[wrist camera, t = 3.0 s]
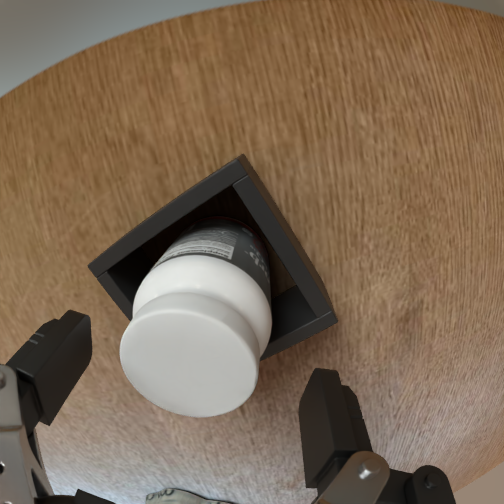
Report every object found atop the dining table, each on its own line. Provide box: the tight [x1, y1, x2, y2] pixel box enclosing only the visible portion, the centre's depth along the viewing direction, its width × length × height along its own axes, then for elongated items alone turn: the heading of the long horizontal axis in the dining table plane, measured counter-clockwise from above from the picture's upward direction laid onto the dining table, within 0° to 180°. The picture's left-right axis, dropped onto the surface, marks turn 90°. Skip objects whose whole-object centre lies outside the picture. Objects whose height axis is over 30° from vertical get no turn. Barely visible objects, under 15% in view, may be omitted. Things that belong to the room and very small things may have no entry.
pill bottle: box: [120, 216, 272, 417], centre depth 14 cm, size 6×6×10 cm
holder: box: [88, 154, 338, 361], centre depth 17 cm, size 9×9×4 cm
